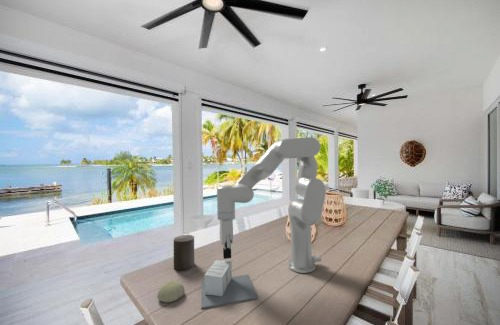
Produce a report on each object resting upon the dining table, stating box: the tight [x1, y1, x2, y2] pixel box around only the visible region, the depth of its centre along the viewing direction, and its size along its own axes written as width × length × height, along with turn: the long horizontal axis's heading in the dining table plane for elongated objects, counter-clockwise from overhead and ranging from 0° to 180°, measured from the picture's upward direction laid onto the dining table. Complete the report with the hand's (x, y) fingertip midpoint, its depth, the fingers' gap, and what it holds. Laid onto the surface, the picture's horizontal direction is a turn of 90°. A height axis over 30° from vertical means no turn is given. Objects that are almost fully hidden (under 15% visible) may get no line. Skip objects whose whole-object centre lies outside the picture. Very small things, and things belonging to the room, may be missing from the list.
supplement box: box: [203, 259, 233, 296], centre depth 82 cm, size 7×7×13 cm
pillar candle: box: [173, 234, 195, 272], centre depth 101 cm, size 10×10×15 cm
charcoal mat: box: [200, 274, 259, 310], centre depth 80 cm, size 20×16×1 cm
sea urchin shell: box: [157, 280, 185, 304], centre depth 78 cm, size 9×8×8 cm
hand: (227, 257), depth 88 cm, fingers closed
